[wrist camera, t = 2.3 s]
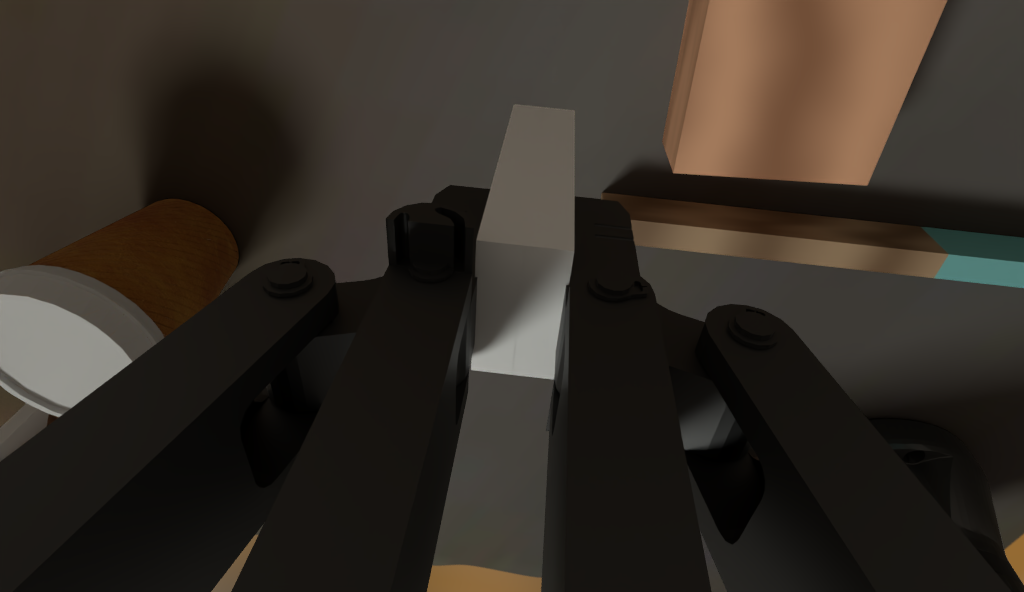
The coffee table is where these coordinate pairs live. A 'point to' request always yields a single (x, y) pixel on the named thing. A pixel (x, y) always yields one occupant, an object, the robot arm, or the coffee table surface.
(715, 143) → the wooden block
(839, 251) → the lane walls
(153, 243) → the disposable coffee cup
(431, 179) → the coffee table surface
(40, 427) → the white open shelf
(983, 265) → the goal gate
